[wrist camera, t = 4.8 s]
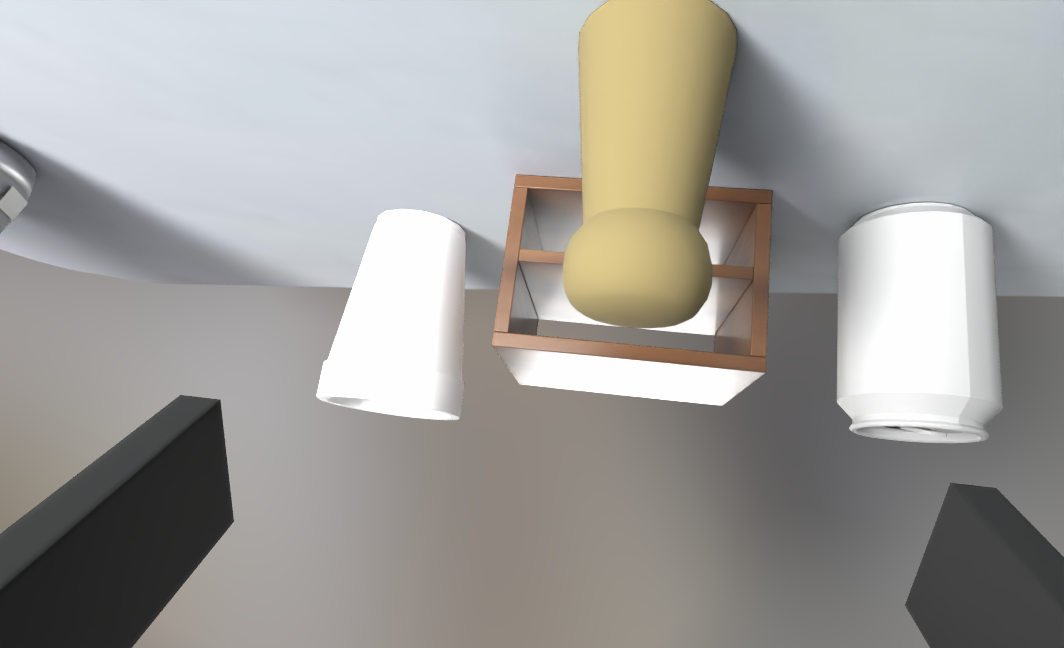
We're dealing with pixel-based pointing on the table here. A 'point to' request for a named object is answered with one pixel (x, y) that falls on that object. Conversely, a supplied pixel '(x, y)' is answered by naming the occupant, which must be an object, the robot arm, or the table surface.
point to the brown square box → (643, 371)
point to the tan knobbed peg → (647, 158)
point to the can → (918, 325)
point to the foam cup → (403, 322)
